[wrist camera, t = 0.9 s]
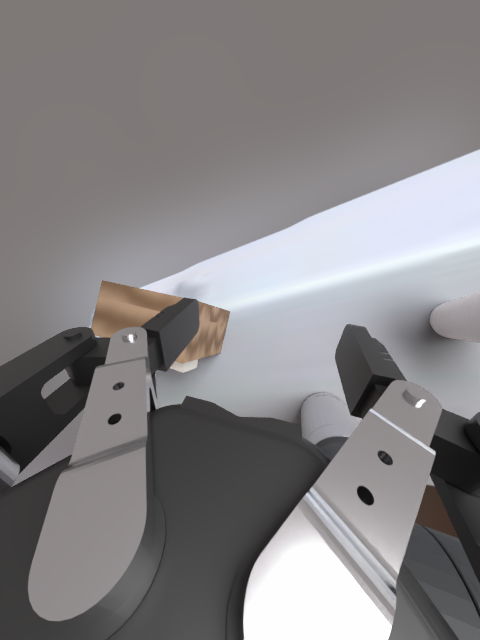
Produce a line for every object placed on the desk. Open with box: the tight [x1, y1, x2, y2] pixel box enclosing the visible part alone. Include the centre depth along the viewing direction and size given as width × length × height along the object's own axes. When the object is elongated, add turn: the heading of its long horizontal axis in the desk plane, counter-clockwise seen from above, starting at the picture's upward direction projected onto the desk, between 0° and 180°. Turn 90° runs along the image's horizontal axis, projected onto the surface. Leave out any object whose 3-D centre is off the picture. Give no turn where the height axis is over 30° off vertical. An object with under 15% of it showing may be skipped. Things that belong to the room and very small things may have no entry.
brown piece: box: [91, 281, 230, 363], centre depth 41 cm, size 10×20×16 cm, turn 76°
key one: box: [170, 359, 199, 373], centre depth 38 cm, size 6×5×5 cm
